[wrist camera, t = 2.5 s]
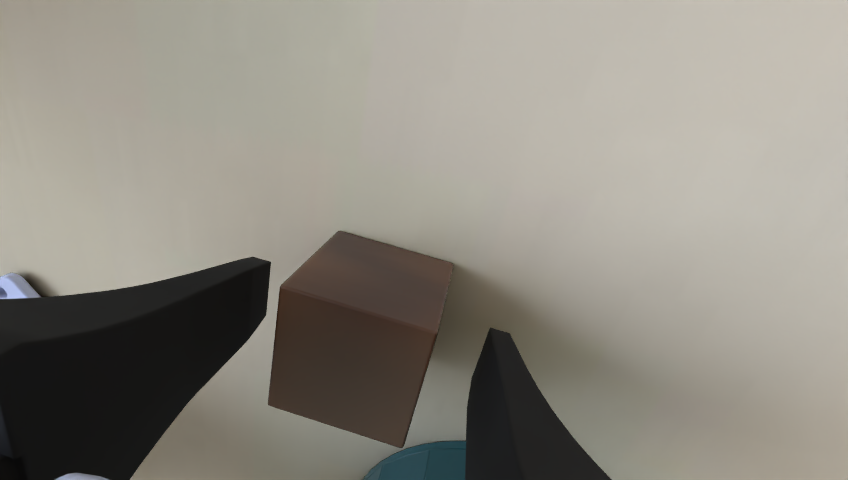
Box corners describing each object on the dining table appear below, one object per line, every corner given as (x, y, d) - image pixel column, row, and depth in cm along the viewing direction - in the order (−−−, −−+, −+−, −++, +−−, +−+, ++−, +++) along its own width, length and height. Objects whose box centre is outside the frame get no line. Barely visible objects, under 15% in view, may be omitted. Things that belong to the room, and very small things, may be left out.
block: (322, 326, 15) (266, 405, 11) (338, 229, 13) (278, 285, 10) (426, 358, 15) (402, 449, 11) (454, 262, 13) (438, 333, 10)
